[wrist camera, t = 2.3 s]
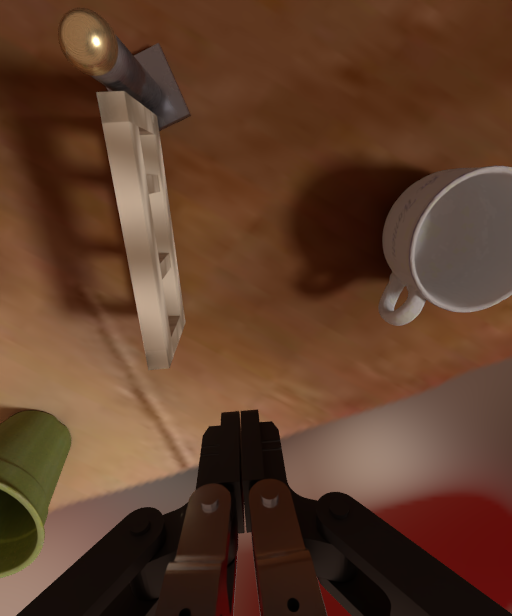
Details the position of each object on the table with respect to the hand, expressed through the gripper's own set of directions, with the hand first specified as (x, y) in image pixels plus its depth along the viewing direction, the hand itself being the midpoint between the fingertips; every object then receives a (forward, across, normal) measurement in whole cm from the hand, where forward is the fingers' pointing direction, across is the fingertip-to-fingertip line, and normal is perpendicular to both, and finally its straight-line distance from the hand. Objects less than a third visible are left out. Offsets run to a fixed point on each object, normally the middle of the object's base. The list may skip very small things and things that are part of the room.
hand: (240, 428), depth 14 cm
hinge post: (+21, +6, -16) cm, 27 cm away
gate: (+19, +6, -6) cm, 21 cm away
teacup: (+21, -17, -3) cm, 27 cm away
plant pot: (+21, +23, +16) cm, 35 cm away
